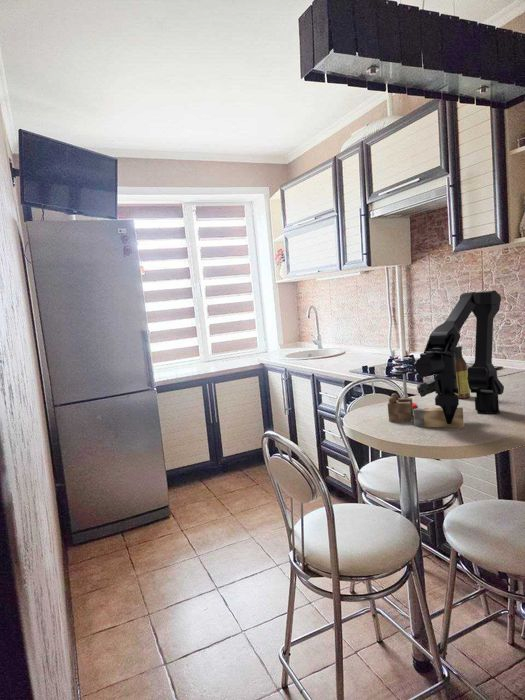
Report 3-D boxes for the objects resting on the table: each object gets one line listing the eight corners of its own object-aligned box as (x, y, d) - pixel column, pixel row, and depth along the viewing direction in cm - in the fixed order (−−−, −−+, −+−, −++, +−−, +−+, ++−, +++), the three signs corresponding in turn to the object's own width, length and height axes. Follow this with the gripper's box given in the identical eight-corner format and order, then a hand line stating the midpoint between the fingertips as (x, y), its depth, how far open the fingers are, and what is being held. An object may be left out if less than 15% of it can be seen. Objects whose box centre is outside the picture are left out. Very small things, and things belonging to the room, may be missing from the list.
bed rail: (463, 423, 133) (462, 407, 133) (463, 427, 129) (462, 410, 129) (415, 423, 139) (414, 407, 138) (414, 426, 135) (413, 410, 135)
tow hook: (391, 406, 166) (395, 410, 157) (388, 372, 166) (392, 375, 157) (414, 404, 165) (419, 409, 156) (411, 371, 165) (416, 373, 155)
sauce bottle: (471, 395, 168) (467, 344, 166) (469, 399, 162) (465, 346, 161) (453, 395, 171) (449, 345, 170) (450, 398, 166) (446, 347, 164)
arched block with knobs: (413, 415, 149) (411, 392, 148) (411, 421, 141) (409, 397, 141) (392, 415, 151) (390, 392, 151) (389, 421, 144) (387, 397, 144)
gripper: (419, 367, 143) (423, 414, 145) (414, 378, 126) (419, 430, 128) (456, 366, 139) (460, 414, 140) (456, 376, 122) (460, 430, 123)
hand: (449, 421), depth 133 cm, fingers closed on bed rail, 4 cm apart
